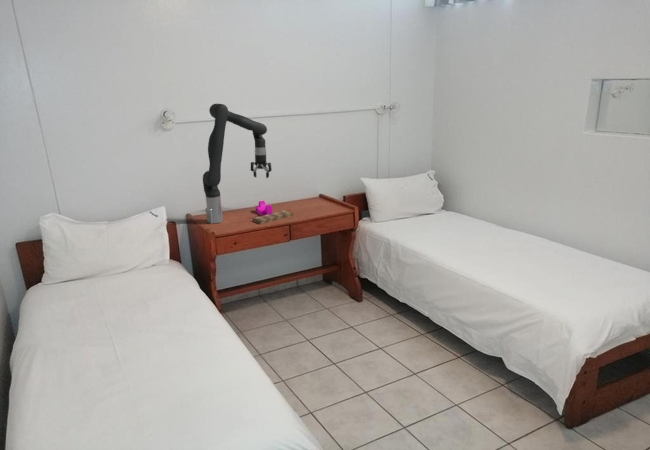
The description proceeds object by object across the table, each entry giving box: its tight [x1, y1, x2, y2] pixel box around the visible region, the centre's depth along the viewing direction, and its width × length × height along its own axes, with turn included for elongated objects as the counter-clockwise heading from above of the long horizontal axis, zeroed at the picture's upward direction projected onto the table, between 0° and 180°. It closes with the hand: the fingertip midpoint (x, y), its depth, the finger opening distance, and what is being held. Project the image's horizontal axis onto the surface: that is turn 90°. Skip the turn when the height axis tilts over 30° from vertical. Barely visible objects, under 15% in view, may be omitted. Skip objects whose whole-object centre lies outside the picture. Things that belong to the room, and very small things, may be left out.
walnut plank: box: [252, 209, 293, 225], centre depth 310 cm, size 26×9×2 cm, turn 131°
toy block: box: [255, 200, 273, 216], centre depth 319 cm, size 15×6×8 cm, turn 29°
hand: (261, 177), depth 320 cm, fingers open, 8 cm apart
